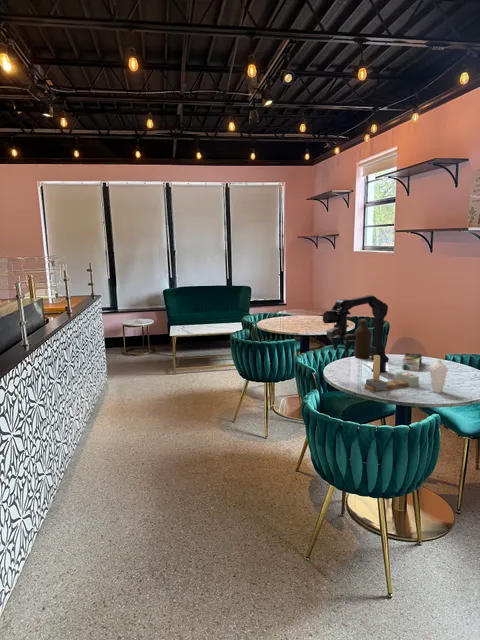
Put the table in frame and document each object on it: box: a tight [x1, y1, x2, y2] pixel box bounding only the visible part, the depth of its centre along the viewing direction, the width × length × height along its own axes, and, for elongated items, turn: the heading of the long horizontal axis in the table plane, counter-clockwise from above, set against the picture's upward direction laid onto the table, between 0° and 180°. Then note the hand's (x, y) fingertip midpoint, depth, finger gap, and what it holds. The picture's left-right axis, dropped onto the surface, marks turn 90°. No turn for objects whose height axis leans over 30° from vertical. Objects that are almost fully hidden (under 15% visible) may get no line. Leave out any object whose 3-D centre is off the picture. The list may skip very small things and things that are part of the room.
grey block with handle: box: [365, 355, 387, 392], centre depth 208 cm, size 6×8×16 cm
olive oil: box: [353, 318, 372, 360], centre depth 272 cm, size 11×11×25 cm
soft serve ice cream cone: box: [428, 358, 449, 394], centre depth 202 cm, size 8×8×16 cm
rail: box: [364, 379, 409, 393], centre depth 211 cm, size 22×6×2 cm, turn 110°
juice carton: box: [401, 352, 423, 372], centre depth 250 cm, size 20×10×6 cm, turn 154°
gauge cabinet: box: [396, 371, 420, 388], centre depth 216 cm, size 5×10×6 cm, turn 20°
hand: (340, 351), depth 227 cm, fingers open, 9 cm apart
